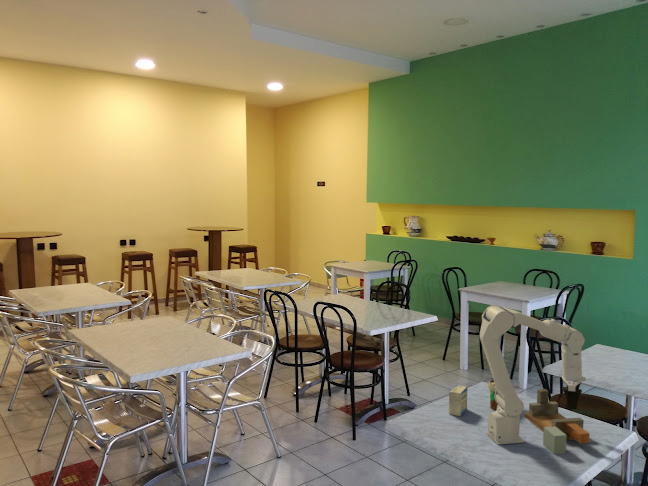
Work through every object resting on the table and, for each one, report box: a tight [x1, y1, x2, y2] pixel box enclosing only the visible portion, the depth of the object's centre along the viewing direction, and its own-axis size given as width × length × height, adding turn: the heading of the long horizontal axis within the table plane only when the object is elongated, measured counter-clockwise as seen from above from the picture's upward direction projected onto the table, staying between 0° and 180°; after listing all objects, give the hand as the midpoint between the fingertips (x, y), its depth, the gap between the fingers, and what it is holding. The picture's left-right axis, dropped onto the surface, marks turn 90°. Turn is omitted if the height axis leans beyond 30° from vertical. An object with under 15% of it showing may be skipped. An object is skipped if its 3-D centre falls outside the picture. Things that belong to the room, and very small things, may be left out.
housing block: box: [542, 426, 567, 455], centre depth 163 cm, size 4×6×6 cm, turn 8°
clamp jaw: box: [552, 417, 590, 444], centre depth 167 cm, size 10×10×4 cm
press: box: [524, 388, 575, 441], centre depth 178 cm, size 12×18×10 cm, turn 8°
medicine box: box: [448, 384, 468, 417], centre depth 191 cm, size 8×4×9 cm, turn 147°
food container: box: [487, 377, 498, 412], centre depth 195 cm, size 12×6×10 cm, turn 145°
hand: (573, 404), depth 170 cm, fingers open, 7 cm apart
